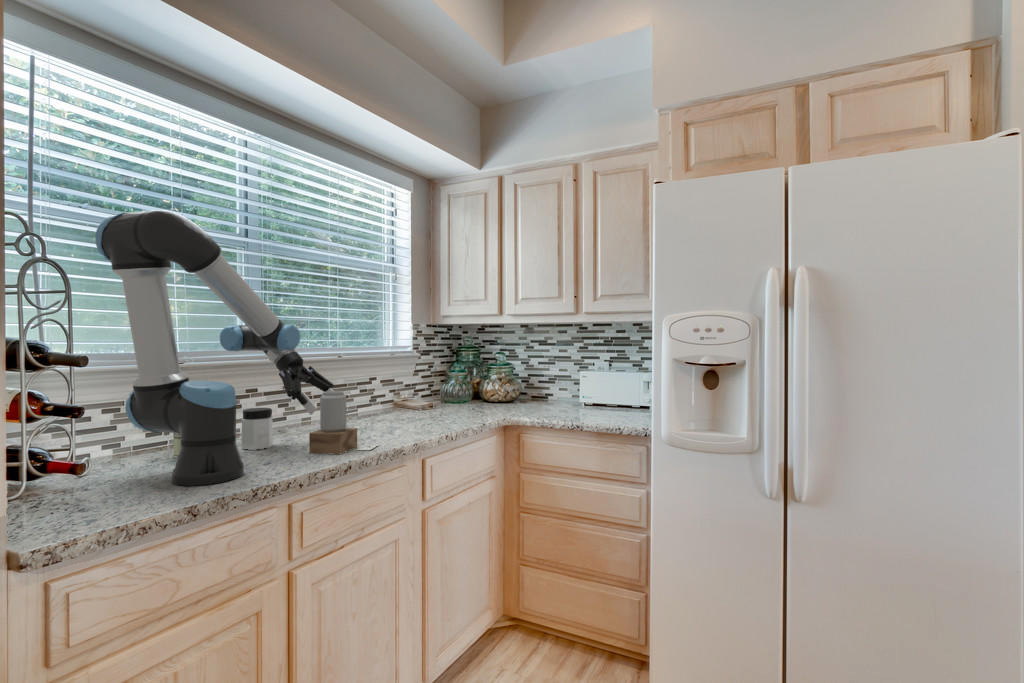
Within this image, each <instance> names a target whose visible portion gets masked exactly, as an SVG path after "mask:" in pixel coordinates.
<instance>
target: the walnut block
mask: <svg viewBox="0 0 1024 683" xmlns="http://www.w3.org/2000/svg"><path fill="white" fill-rule="evenodd" d="M308 434H309V436H308V438H309V443H308V444H309V446H308V447H309V448H308V449H309V454H317V453H334V454H333V455H338V454H340V453H343V452H345V451H347V452H349V451H348V450H350V449H352V450H354V449H353V448H355V449H357V448H358V428H356V427H346V428H345V429H344V430H343V431H340V432H324V431H323V430H322V429H317V430H315V431H312V432H309V433H308ZM356 447H357V448H356ZM350 451H351V450H350ZM345 453H346V452H345ZM343 454H344V453H343ZM340 455H341V454H340Z"/></svg>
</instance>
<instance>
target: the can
mask: <svg viewBox="0 0 1024 683" xmlns="http://www.w3.org/2000/svg"><path fill="white" fill-rule="evenodd" d="M319 402H320V403H319V404H320V405H319V408H320V409H319V410H320V411H319V412H320V414H319V416H320V419H319V420H320V422H319V423H320V424H319V425H320V428H319V430H321V429H322V430H323V431H324V432H340V431H343V430H344V429H345V428H347V396H346V394H345V391H343V390H333V391H326V392H324V391H322V395H321V396H320V397H319Z"/></svg>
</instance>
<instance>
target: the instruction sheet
mask: <svg viewBox="0 0 1024 683" xmlns="http://www.w3.org/2000/svg"><path fill="white" fill-rule="evenodd" d="M370 445H372V446H378V447H380V444H363V445H362V446H367V447H369V448H371V446H370ZM363 448H364V447H363Z"/></svg>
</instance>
